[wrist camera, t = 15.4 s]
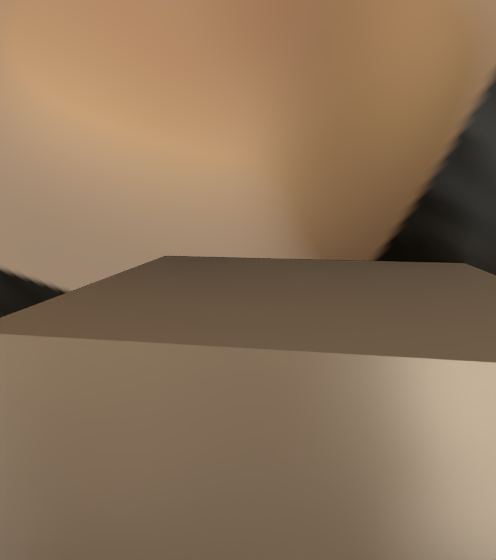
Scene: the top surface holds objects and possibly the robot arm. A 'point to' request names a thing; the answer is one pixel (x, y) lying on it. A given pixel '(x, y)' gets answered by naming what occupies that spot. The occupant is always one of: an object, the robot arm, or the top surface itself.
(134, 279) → the cream cube
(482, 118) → the top surface
